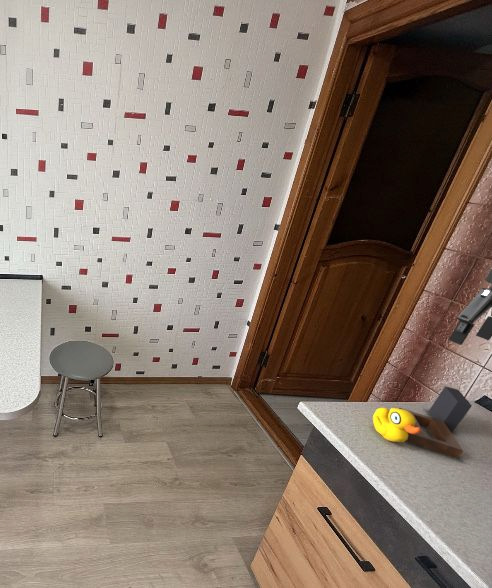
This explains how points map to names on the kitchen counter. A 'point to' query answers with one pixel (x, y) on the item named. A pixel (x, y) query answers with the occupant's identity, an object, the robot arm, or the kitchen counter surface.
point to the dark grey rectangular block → (450, 407)
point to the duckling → (394, 424)
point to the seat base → (434, 436)
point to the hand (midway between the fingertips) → (468, 340)
